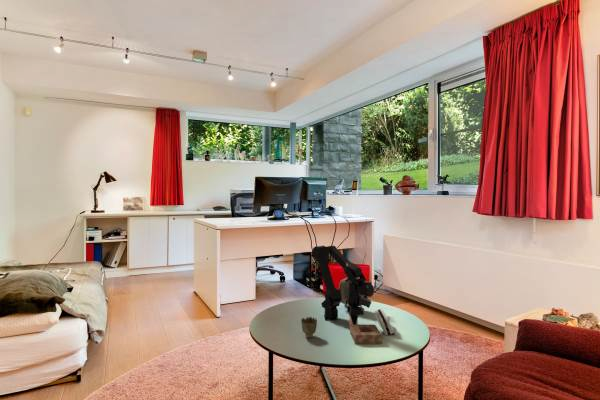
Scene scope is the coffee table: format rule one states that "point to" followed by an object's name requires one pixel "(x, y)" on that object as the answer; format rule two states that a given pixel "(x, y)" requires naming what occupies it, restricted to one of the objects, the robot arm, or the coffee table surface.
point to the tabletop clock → (345, 291)
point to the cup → (309, 326)
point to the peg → (352, 322)
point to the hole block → (365, 334)
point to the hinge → (384, 322)
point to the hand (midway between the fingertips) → (353, 323)
